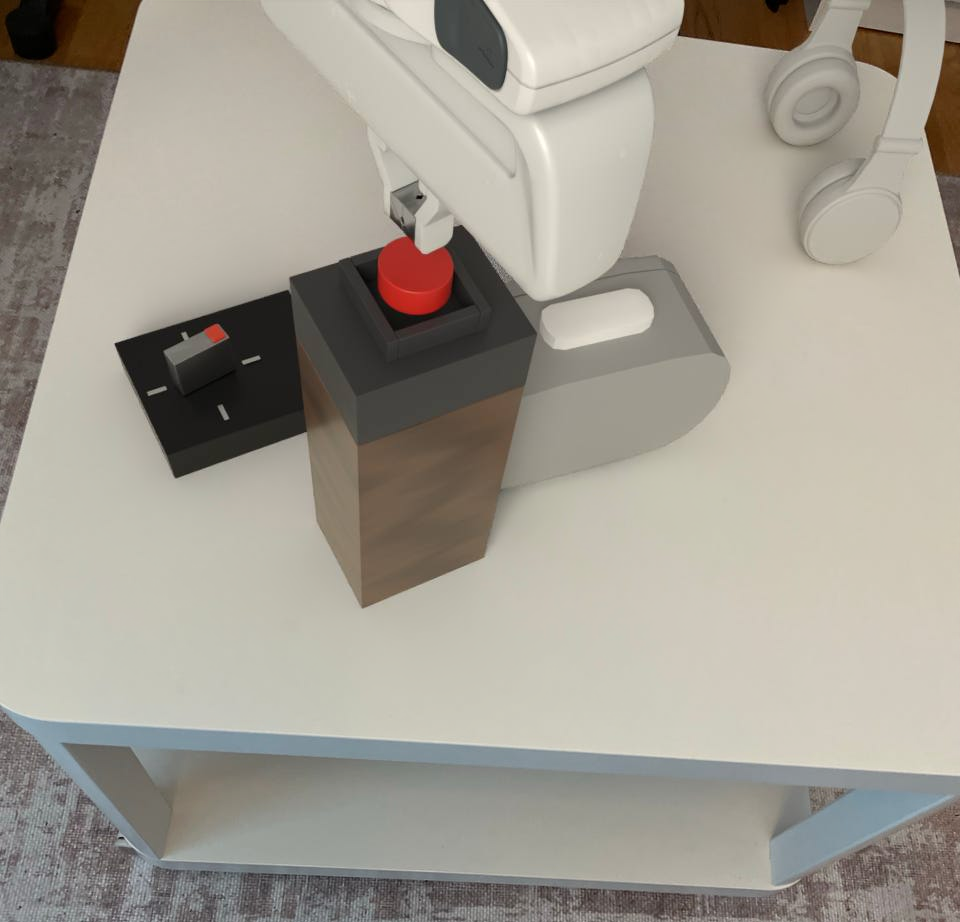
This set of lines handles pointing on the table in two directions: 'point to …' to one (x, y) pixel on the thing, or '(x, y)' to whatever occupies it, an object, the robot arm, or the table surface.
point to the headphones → (827, 109)
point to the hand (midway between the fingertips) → (417, 229)
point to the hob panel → (222, 386)
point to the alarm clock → (613, 372)
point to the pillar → (406, 489)
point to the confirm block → (410, 341)
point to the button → (414, 277)
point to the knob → (200, 359)
